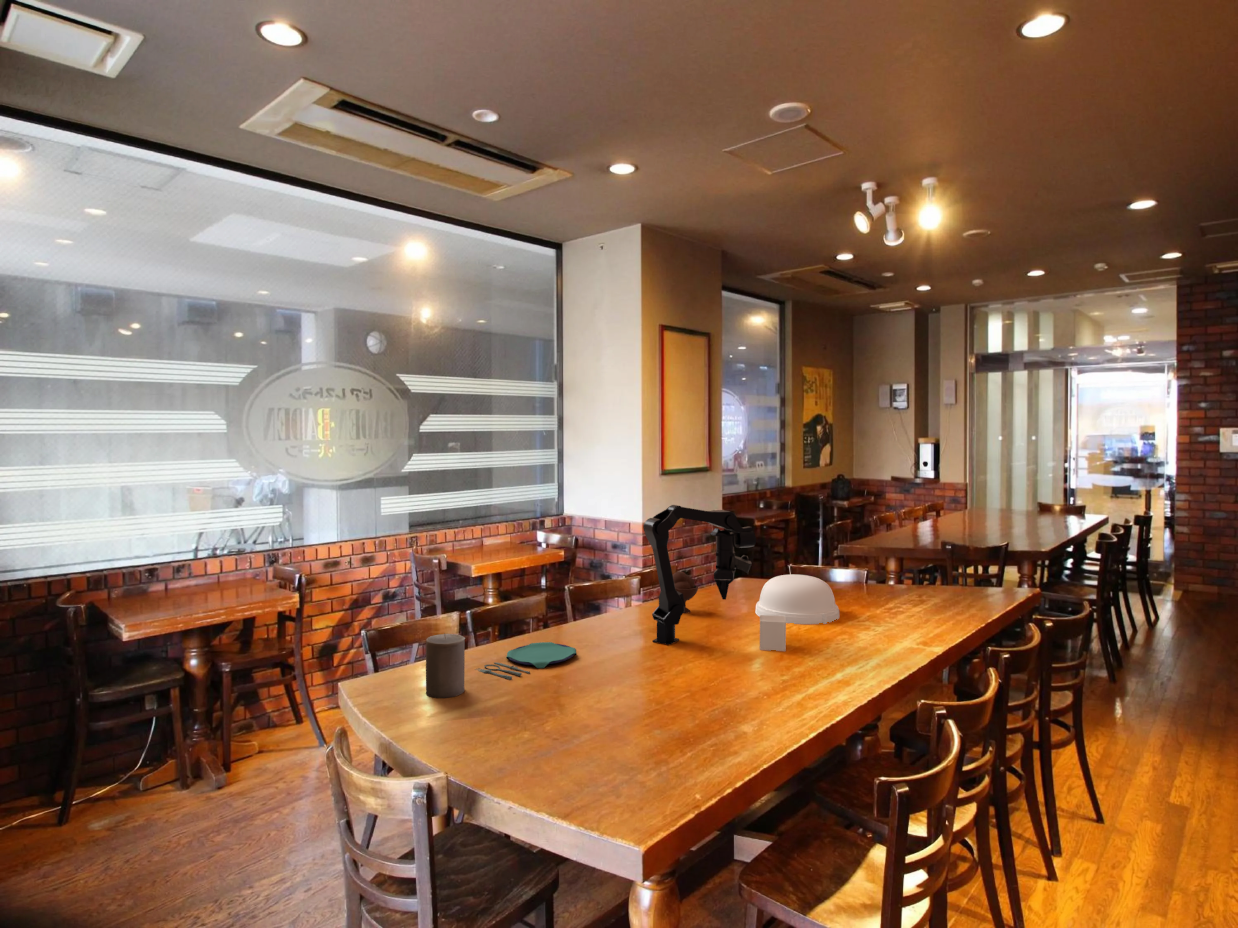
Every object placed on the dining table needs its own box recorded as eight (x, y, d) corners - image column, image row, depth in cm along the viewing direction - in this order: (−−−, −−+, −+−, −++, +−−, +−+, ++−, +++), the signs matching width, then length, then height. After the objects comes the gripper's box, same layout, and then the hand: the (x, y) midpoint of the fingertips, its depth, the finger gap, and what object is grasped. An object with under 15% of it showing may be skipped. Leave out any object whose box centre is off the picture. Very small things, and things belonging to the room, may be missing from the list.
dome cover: (737, 609, 276) (738, 572, 276) (802, 601, 289) (802, 566, 288) (790, 629, 247) (791, 588, 247) (859, 620, 259) (860, 580, 259)
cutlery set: (589, 656, 217) (589, 649, 217) (513, 684, 194) (513, 676, 194) (542, 645, 229) (542, 638, 229) (465, 670, 206) (465, 662, 206)
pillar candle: (425, 699, 181) (426, 639, 180) (425, 686, 190) (425, 629, 189) (466, 696, 183) (466, 637, 183) (463, 683, 193) (463, 627, 192)
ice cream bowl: (688, 616, 264) (688, 575, 263) (662, 612, 270) (662, 571, 270) (703, 611, 272) (703, 571, 271) (678, 606, 279) (678, 567, 278)
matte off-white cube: (759, 649, 222) (759, 621, 222) (759, 642, 230) (759, 615, 230) (785, 651, 221) (785, 622, 221) (784, 644, 229) (785, 616, 228)
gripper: (749, 554, 229) (749, 603, 229) (750, 545, 247) (750, 591, 247) (713, 553, 231) (713, 602, 231) (717, 544, 249) (717, 590, 250)
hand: (724, 596), depth 240 cm, fingers open, 9 cm apart
